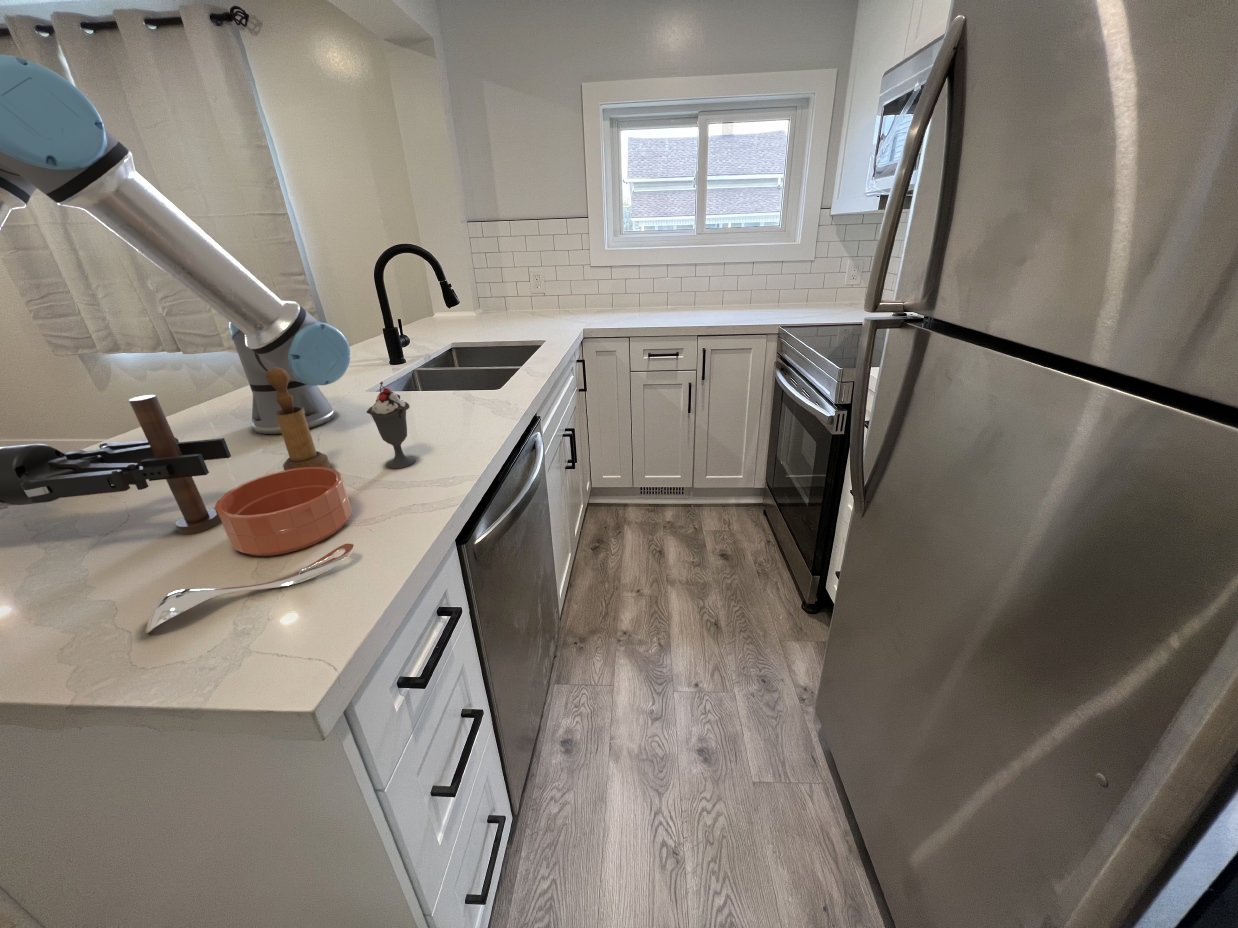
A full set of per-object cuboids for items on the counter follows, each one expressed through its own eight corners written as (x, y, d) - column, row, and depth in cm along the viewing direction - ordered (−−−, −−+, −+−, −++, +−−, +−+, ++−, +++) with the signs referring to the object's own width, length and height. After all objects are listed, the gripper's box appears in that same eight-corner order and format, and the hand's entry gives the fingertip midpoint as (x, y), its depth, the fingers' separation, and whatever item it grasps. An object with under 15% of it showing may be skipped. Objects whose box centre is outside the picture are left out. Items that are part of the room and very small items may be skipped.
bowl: (262, 509, 73) (248, 473, 71) (364, 497, 75) (354, 462, 73) (209, 566, 60) (189, 524, 58) (334, 550, 63) (320, 508, 60)
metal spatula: (345, 522, 61) (351, 539, 57) (354, 546, 62) (361, 564, 59) (135, 597, 51) (128, 623, 48) (153, 623, 53) (147, 650, 49)
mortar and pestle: (310, 482, 81) (274, 374, 73) (277, 480, 82) (238, 373, 75) (339, 465, 87) (308, 363, 79) (307, 463, 88) (274, 363, 81)
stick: (191, 518, 72) (133, 394, 64) (228, 514, 72) (175, 390, 65) (170, 536, 67) (106, 405, 59) (210, 531, 68) (151, 401, 60)
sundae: (397, 474, 83) (375, 386, 76) (372, 466, 86) (349, 381, 80) (429, 459, 88) (411, 376, 81) (405, 452, 91) (386, 372, 85)
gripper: (81, 472, 72) (256, 455, 76) (-42, 539, 56) (187, 513, 60) (55, 424, 69) (238, 408, 73) (-84, 480, 53) (160, 456, 57)
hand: (215, 455), depth 66 cm, fingers open, 5 cm apart
